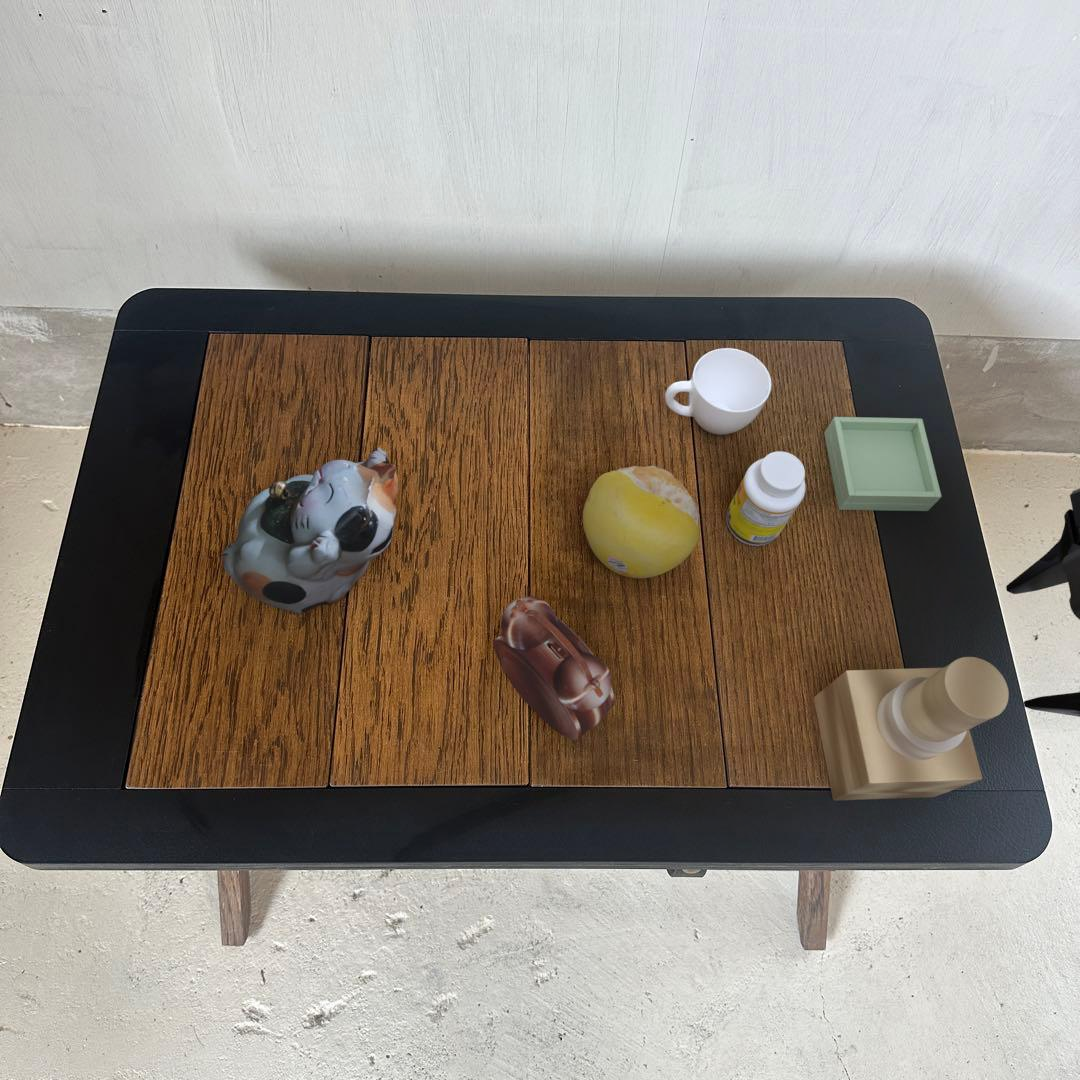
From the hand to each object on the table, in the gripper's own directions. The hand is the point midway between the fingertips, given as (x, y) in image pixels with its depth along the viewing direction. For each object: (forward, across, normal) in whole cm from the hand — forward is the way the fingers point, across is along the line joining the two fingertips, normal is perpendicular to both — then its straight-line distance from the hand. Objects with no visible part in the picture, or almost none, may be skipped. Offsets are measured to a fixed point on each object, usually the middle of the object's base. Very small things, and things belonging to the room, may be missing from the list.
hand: (1018, 646), depth 64 cm
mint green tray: (+14, -24, +3) cm, 28 cm away
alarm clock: (+28, +4, -24) cm, 38 cm away
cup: (+22, -28, -12) cm, 38 cm away
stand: (+15, +5, +1) cm, 16 cm away
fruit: (+25, -12, -18) cm, 33 cm away
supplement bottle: (+20, -16, -8) cm, 27 cm away
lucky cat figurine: (+39, -8, -44) cm, 59 cm away
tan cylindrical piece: (+8, +5, -2) cm, 10 cm away
